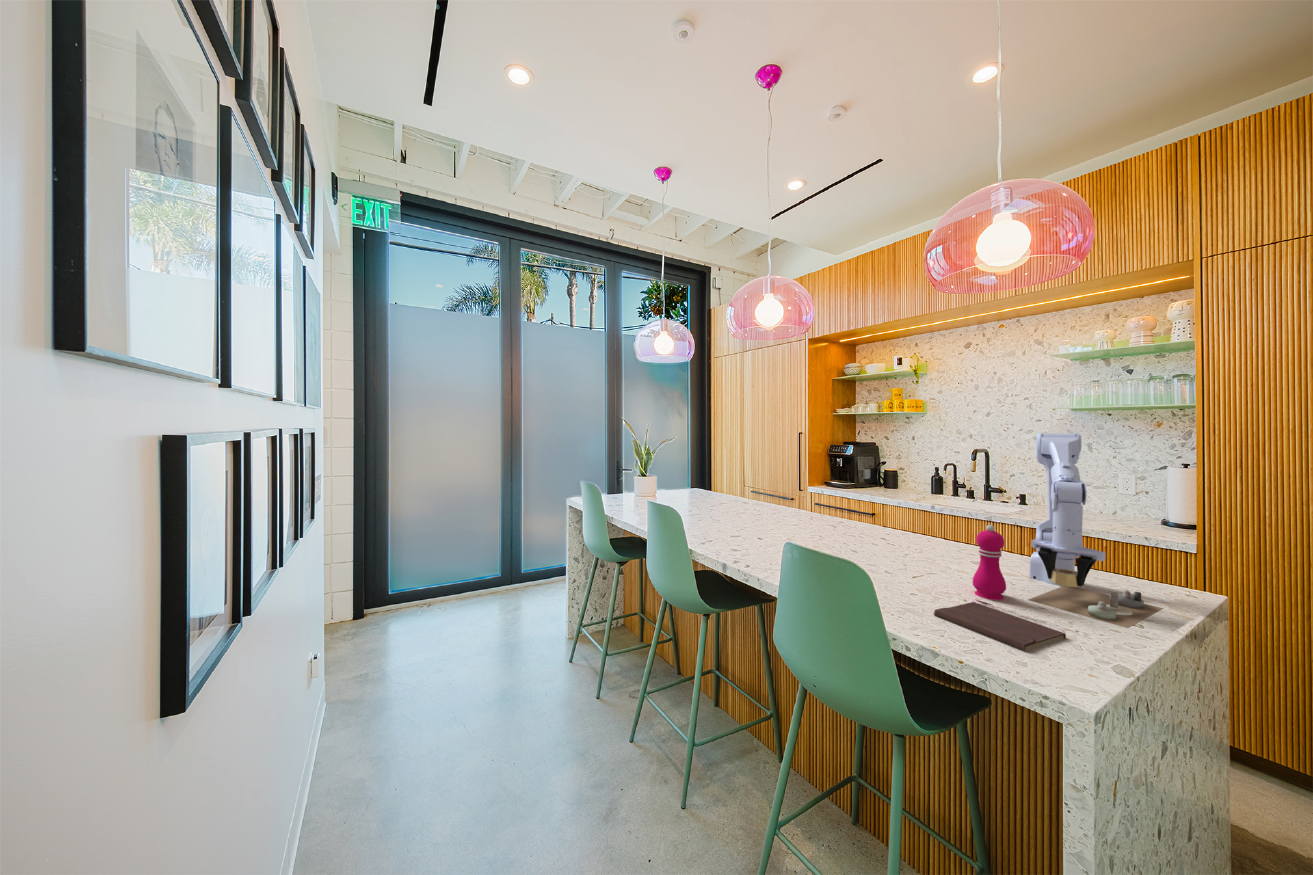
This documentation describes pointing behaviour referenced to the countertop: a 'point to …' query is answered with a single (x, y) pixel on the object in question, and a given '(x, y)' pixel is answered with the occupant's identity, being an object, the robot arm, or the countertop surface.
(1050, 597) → the board
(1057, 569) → the brass idler gear
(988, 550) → the pepper mill
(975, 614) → the notebook
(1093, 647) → the countertop surface
